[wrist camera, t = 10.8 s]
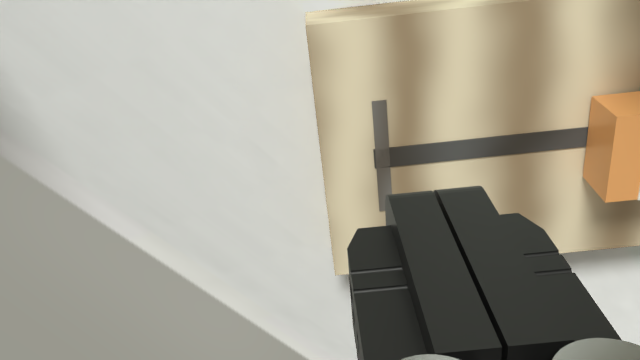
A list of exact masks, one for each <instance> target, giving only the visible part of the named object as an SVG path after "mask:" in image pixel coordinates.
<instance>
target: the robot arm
mask: <svg viewBox="0 0 640 360" xmlns="http://www.w3.org/2000/svg"><path fill="white" fill-rule="evenodd" d="M385 216H386V226H378V227H368V228H358V229H357V231H356V232H355V234H354V236H353V238H352V240H351V242H350V244H349V246H348V248H347V254H348V267H349V280H350V293H351V306H352V319H353V328H354V336H355V343H356V349H357V357H358V360H640V346H639V345H636V344H633V343H630V342H626V341H622V340H621V338H620V337H619V335H618V334H617V333H616V331H615V330H614V328H613V327H612V325H611V324H610V323H609V321H608V320H607V318H606V317H605V316H604V314H603V313H602V311H601V310H600V308H599V307H598V306H597V304H596V303H595V301H594V300H593V298H592V297H591V296H590V294H589V293H588V291H587V290H586V288H585V287H584V286H583V284H582V283H581V281H580V280H579V279H578V277H577V276H576V274H575V273H572V271H571V267H570V266H569V264H568V263H567V261H566V260H565V259H564V257H563V256H562V255H559V250H558V249H557V247H556V246H555V244H554V243H553V242H552V240H551V239H550V237H549V236H548V234H547V233H546V232H545V230H544V229H543V228H541V227H540V226H538V225H536V224H535V223H533V222H532V221H530V220H529V219H527V218H525V217H524V216H522V215H521V214H519V213H511V214H501V215H499V213H498V211H497V210H496V208H495V207H494V205H493V203H492V202H491V200H490V198H489V197H488V195H487V193H486V192H485V190H484V189H483V187H482V186H470V187H460V188H449V189H439V190H434V191H431V190H430V191H420V192H409V193H399V194H389V195H386V198H385Z"/></svg>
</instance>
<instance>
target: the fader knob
mask: <svg viewBox="0 0 640 360" xmlns="http://www.w3.org/2000/svg"><path fill="white" fill-rule="evenodd" d="M583 178H584V179H585V180H586V181H587V182H588V183H589V185H590V186H591V187H592V188H593V189H594V190H595V191H596V193H597V194H598V195H599V196H600V197H601V198H602V200H603V201H604V202H605V203H608V202H618V201H628V200H640V91H636V92H627V93H617V94H608V95H599V96H592V100H591V109H590V118H589V126H588V135H587V144H586V153H585V162H584V171H583Z"/></svg>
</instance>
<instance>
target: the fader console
mask: <svg viewBox="0 0 640 360" xmlns="http://www.w3.org/2000/svg"><path fill="white" fill-rule="evenodd" d="M306 33H307V42H308V50H309V59H310V67H311V75H312V84H313V92H314V101H315V109H316V118H317V126H318V135H319V143H320V152H321V160H322V168H323V177H324V185H325V194H326V202H327V211H328V219H329V228H330V236H331V244H332V253H333V261H334V270H335V275H344V274H349V267H348V254H347V248H348V246H349V244H350V242H351V240H352V238H353V236H354V234H355V232H356V231H357V229H358V228H368V227H378V226H386V216H385V198H386V195H389V194H399V193H409V192H420V191H430V190H431V191H434V190H439V189H449V188H460V187H470V186H482V187H483V189H484V190H485V192H486V193H487V195H488V197H489V198H490V200H491V202H492V203H493V205H494V207H495V208H496V210H497V211H498V213H499V215H501V214H511V213H519V214H521V215H522V216H524V217H525V218H527V219H529V220H530V221H532V222H533V223H535V224H536V225H538V226H540V227H541V228H543V229H544V230H545V232H546V233H547V234H548V236H549V237H550V239H551V240H552V242H553V243H554V244H555V246H556V247H557V249H558V250H559V253H569V252H579V251H589V250H600V249H610V248H620V247H630V246H640V200H628V201H618V202H608V203H605V202H604V201H603V200H602V198H601V197H600V196H599V195H598V194H597V193H596V191H595V190H594V189H593V188H592V187H591V186H590V185H589V183H588V182H587V181H586V180H585V179H584V178H583V171H584V162H585V153H586V144H587V135H588V126H589V118H590V109H591V100H592V96H599V95H608V94H617V93H627V92H636V91H640V0H411V1H402V2H393V3H384V4H375V5H367V6H358V7H349V8H340V9H331V10H322V11H314V12H306Z"/></svg>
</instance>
